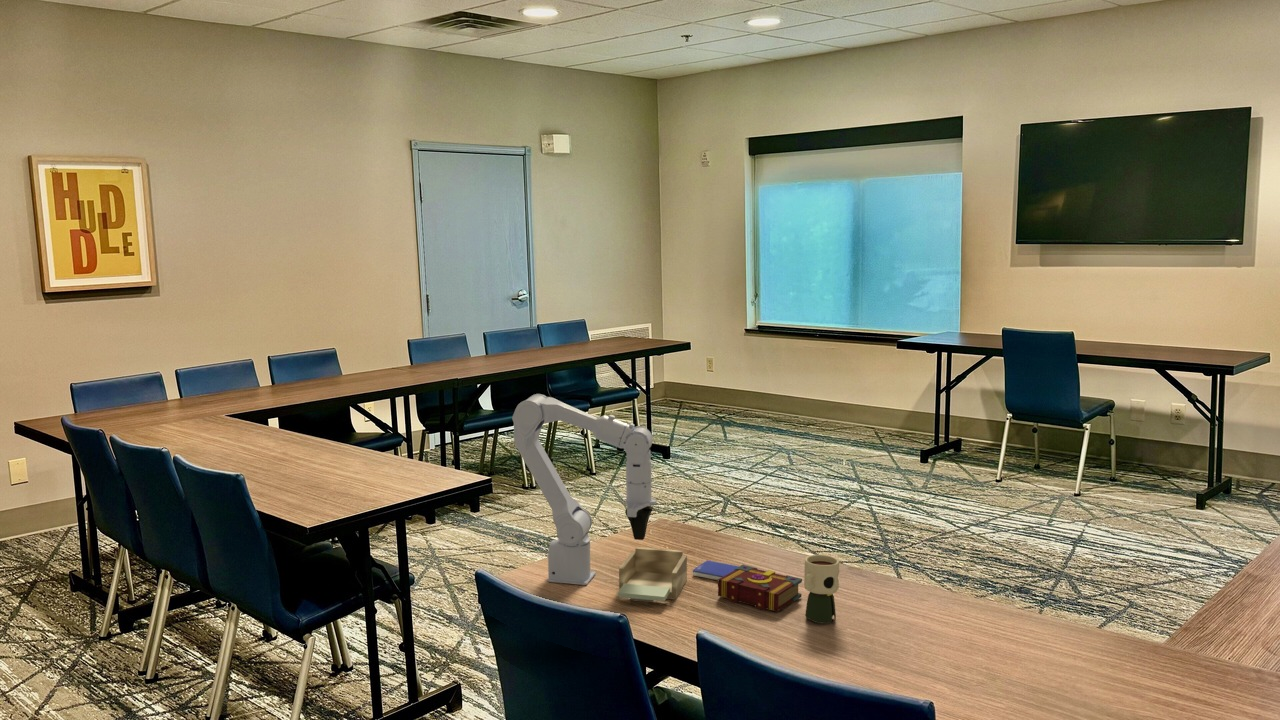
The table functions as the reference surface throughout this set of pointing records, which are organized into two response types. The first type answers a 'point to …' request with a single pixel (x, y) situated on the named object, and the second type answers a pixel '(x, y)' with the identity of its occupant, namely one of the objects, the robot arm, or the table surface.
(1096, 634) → the table surface
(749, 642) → the table surface
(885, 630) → the table surface
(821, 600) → the character mug
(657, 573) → the crate
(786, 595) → the decorative book
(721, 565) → the hard drive
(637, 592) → the panel
